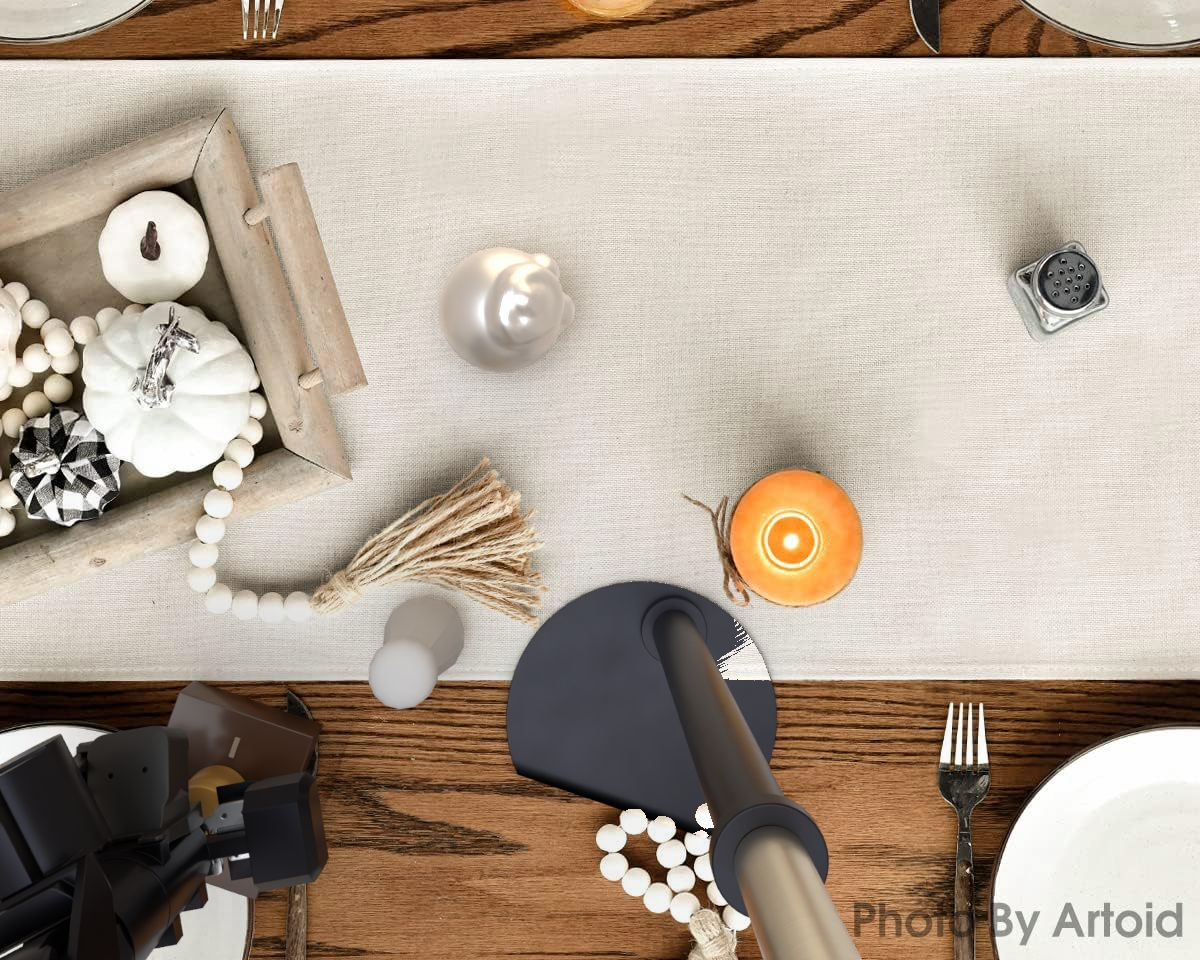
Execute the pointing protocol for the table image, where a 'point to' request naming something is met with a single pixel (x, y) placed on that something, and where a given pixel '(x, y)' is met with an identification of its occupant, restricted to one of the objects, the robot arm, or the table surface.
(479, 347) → the ghost figurine
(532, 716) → the round base pole stand
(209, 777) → the knob
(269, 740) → the panel
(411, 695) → the salt shaker
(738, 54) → the table surface
